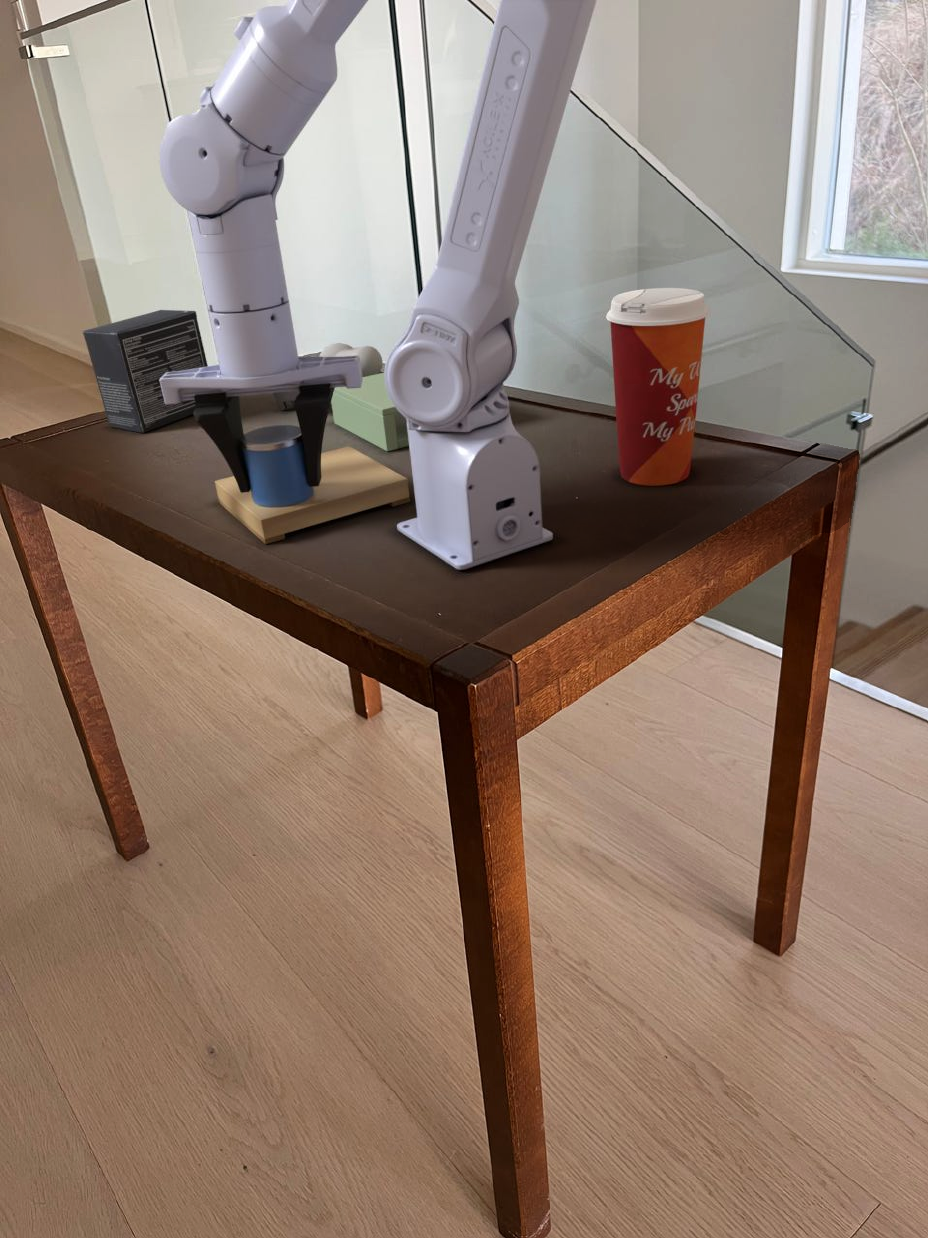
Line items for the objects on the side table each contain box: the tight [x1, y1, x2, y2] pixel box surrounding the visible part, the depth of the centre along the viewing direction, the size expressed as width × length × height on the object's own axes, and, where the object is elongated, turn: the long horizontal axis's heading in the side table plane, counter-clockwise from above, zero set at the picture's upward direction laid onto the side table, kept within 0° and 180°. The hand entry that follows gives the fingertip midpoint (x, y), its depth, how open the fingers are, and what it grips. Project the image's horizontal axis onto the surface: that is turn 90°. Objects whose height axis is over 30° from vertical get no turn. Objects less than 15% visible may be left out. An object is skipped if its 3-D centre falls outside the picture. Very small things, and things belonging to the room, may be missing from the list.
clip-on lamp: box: [272, 342, 384, 411], centre depth 107 cm, size 12×6×18 cm
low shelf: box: [214, 445, 411, 545], centre depth 78 cm, size 11×12×2 cm
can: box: [240, 423, 314, 507], centre depth 73 cm, size 5×5×5 cm
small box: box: [82, 309, 209, 434], centre depth 102 cm, size 11×6×10 cm, turn 144°
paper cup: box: [605, 287, 711, 487], centre depth 74 cm, size 8×8×14 cm
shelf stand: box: [330, 372, 409, 452], centre depth 94 cm, size 12×12×4 cm
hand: (281, 485), depth 74 cm, fingers closed on can, 5 cm apart
